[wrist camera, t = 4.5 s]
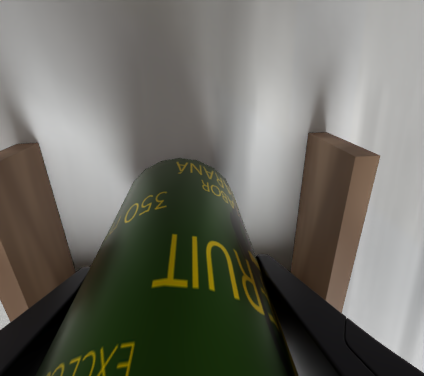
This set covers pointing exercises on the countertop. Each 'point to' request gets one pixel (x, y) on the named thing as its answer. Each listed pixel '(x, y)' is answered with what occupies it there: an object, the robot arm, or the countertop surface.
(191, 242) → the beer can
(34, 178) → the wooden u-shaped frame
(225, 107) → the countertop surface
